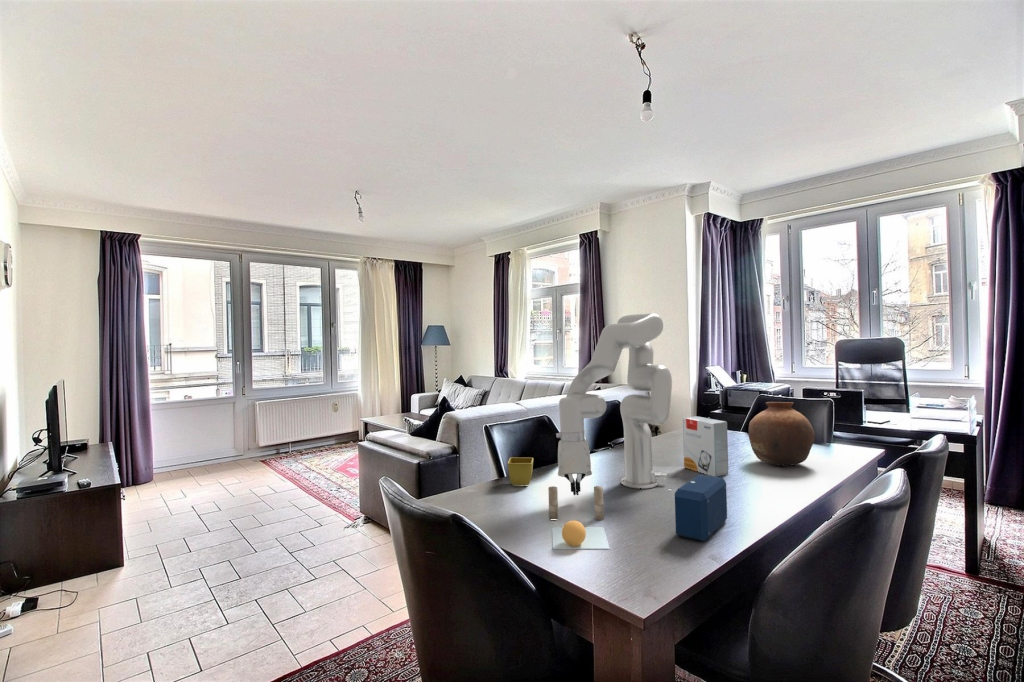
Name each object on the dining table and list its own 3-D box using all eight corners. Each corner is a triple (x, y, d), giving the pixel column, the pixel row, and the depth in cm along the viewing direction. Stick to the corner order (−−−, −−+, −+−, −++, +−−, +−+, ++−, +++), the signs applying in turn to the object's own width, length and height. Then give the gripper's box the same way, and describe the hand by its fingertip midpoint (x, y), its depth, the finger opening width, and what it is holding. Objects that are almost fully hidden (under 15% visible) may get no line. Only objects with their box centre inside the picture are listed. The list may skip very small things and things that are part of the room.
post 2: (603, 516, 143) (602, 486, 143) (604, 520, 141) (603, 488, 141) (594, 516, 144) (593, 486, 144) (595, 520, 141) (594, 488, 141)
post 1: (558, 517, 144) (557, 486, 144) (558, 520, 142) (557, 489, 142) (549, 517, 145) (548, 486, 145) (549, 520, 142) (548, 489, 142)
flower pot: (534, 481, 182) (533, 457, 182) (532, 488, 173) (532, 463, 173) (510, 481, 183) (509, 457, 183) (508, 488, 174) (507, 463, 174)
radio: (698, 514, 144) (696, 445, 144) (729, 520, 138) (727, 448, 138) (670, 537, 127) (668, 460, 127) (705, 545, 122) (702, 464, 122)
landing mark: (603, 527, 135) (603, 527, 135) (609, 549, 121) (609, 548, 121) (552, 527, 136) (552, 527, 136) (552, 549, 122) (552, 548, 122)
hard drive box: (683, 468, 194) (681, 417, 194) (697, 465, 197) (696, 415, 197) (714, 477, 180) (712, 423, 180) (729, 474, 183) (728, 421, 183)
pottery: (781, 474, 181) (779, 406, 181) (736, 460, 203) (734, 400, 203) (830, 468, 187) (827, 402, 187) (781, 455, 209) (779, 396, 209)
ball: (585, 551, 122) (585, 536, 128) (586, 531, 120) (585, 516, 126) (561, 550, 123) (561, 535, 128) (561, 529, 121) (562, 515, 127)
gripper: (549, 439, 153) (552, 498, 153) (597, 438, 152) (600, 497, 152) (549, 434, 160) (552, 490, 160) (595, 432, 159) (598, 489, 159)
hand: (575, 493), depth 156 cm, fingers closed
